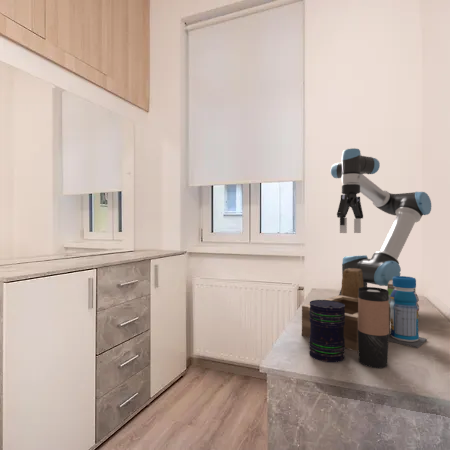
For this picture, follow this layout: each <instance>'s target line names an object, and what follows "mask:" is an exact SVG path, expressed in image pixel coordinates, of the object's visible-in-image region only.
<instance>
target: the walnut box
mask: <svg viewBox="0 0 450 450" xmlns="http://www.w3.org/2000/svg"><path fill="white" fill-rule="evenodd" d="M323 300H331V301H337V302H341V303H343V304H344V305H345V309H344V310H345V325H344V339H345V349H347V350H351V351H355V352H359V350H358V298H355V297H349V296H343V295H339V294H338V295H335V296H332V297H328V298H325V299H323ZM309 311H310V303H307V304H304V305H302V306H301V336H304V337H305V338H306V337H307V338H309V337H310V319H309V318H310V315H309ZM390 331H391V320H390V303H389V333H390Z"/></svg>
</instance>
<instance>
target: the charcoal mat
mask: <svg viewBox="0 0 450 450" xmlns="http://www.w3.org/2000/svg"><path fill="white" fill-rule="evenodd" d="M427 340H428V338H425V337H420V336H419V339H418V341H415V342H406V341H400V340H397V339H394V338H393V337H392V336H391V334H390V333H389V341H388V342H391V343H395V344H398V345H402V346H408V347H411V348H415V349H418V348H420V346H422V345H423V344H424V343H426V342H427Z"/></svg>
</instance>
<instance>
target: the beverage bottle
mask: <svg viewBox="0 0 450 450" xmlns="http://www.w3.org/2000/svg"><path fill="white" fill-rule="evenodd" d="M393 287H395V289H394V290H393V291H392V293H391V296H390V298H391V302H390V308H391V320H390V332H389V334H391V336H392V337H393V338H394V339H397V340H400V341H406V342H415V341H418V339H419V337H420V336H419V335H420V334H419V311H420V306H419V304H418V303H419V302H420V301H419V296H418V294H417V292H416V289H417V279H416V277H412V276H405V275H400V276H394V277H393ZM414 289H415V291H414Z"/></svg>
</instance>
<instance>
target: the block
mask: <svg viewBox="0 0 450 450" xmlns="http://www.w3.org/2000/svg"><path fill="white" fill-rule="evenodd" d="M361 287H363V274H362V270H361V269H357V268H348V269H345V270H344V271H343V277H342V278H341V287H340V290H341V295H343V296H349V297H355V298H358V297H359V290H358V289H359V288H361Z"/></svg>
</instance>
